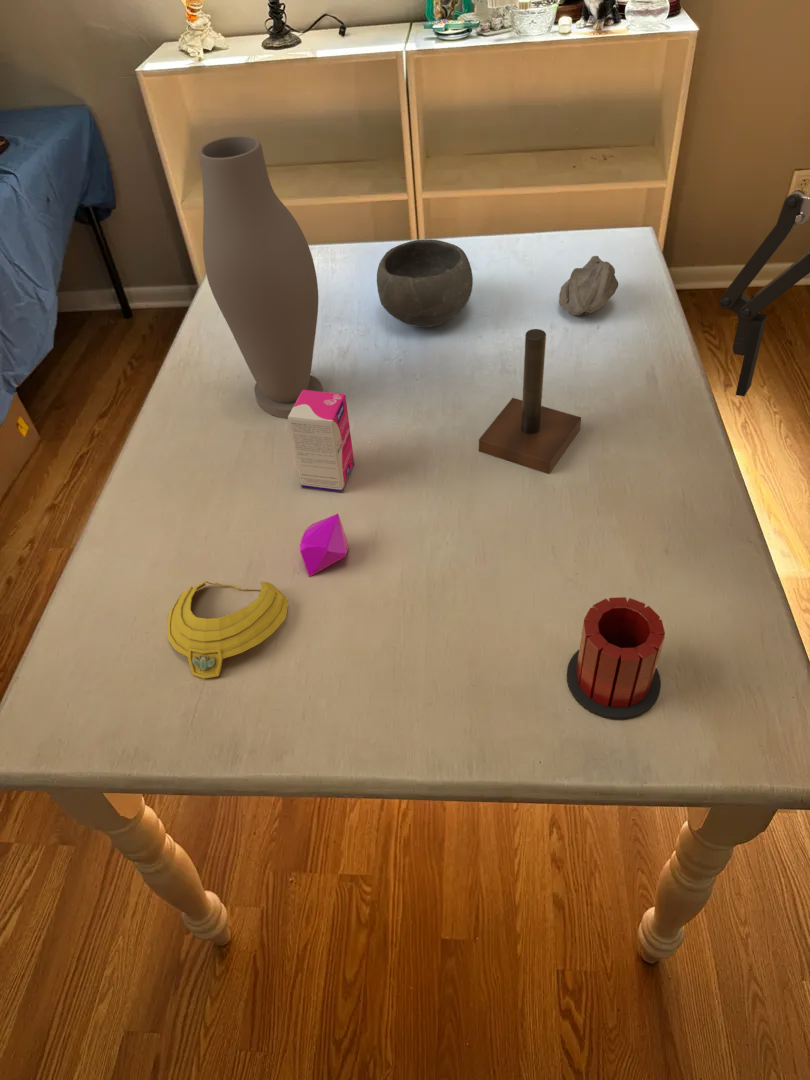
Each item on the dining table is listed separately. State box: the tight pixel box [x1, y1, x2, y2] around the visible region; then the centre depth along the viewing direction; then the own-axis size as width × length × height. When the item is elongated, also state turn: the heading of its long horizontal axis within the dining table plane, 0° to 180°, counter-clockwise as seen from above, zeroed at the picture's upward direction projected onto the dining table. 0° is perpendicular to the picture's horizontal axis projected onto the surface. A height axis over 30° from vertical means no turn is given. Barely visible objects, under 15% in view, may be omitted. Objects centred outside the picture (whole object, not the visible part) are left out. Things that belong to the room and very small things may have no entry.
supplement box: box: [287, 390, 355, 493], centre depth 97 cm, size 6×6×12 cm
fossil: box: [558, 255, 619, 316], centre depth 122 cm, size 11×9×8 cm
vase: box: [198, 135, 324, 419], centre depth 101 cm, size 13×13×35 cm
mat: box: [566, 649, 662, 721], centre depth 77 cm, size 9×9×1 cm
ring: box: [576, 596, 666, 708], centre depth 74 cm, size 7×7×8 cm
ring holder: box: [478, 328, 582, 475], centre depth 98 cm, size 10×10×16 cm
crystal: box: [299, 513, 350, 578], centre depth 90 cm, size 5×5×5 cm
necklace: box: [166, 580, 290, 679], centre depth 85 cm, size 13×13×4 cm
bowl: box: [376, 239, 474, 328], centre depth 123 cm, size 15×15×10 cm
